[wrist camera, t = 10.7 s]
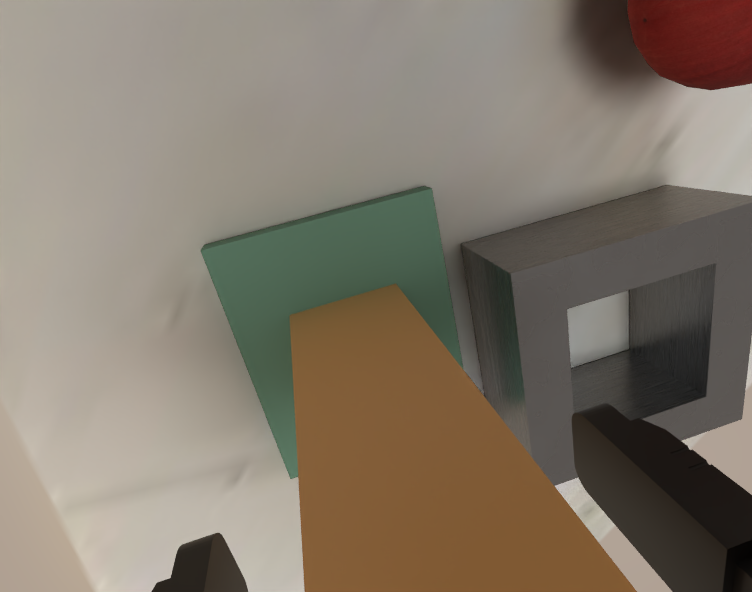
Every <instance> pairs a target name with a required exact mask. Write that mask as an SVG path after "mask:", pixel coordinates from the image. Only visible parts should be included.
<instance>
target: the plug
mask: <svg viewBox="0 0 752 592" xmlns="http://www.w3.org/2000/svg"><path fill="white" fill-rule="evenodd" d="M289 317H290V335H291V353H292V371H293V389H294V407H295V425H296V443H297V461H298V479H299V497H300V515H301V533H302V551H303V569H304V587H305V592H637V591H636V590H635V589H634V587H633V586H632V585H631V584H630V582H629V581H628V580H627V579H626V577H625V576H624V575H623V573H622V572H621V571H620V570H619V568H618V567H617V566H616V565H615V563H614V562H613V561H612V559H611V558H610V557H609V555H608V554H607V553H606V552H605V551H604V549H603V548H602V547H601V545H600V544H599V543H598V541H597V540H596V539H595V538H594V536H593V535H592V534H591V532H590V531H589V530H588V529H587V527H586V526H585V525H584V523H583V522H582V521H581V520H580V518H579V517H578V516H577V515H576V513H575V512H574V511H573V509H572V508H571V507H570V506H569V504H568V503H567V502H566V500H565V499H564V498H563V497H562V495H561V494H560V493H559V492H558V490H557V489H556V488H555V486H554V485H553V484H552V483H551V481H550V480H549V479H548V477H547V476H546V475H545V474H544V472H543V471H542V470H541V469H540V467H539V466H538V465H537V463H536V462H535V461H534V460H533V458H532V457H531V456H530V454H529V453H528V452H527V451H526V449H525V448H524V447H523V445H522V444H521V443H520V442H519V440H518V439H517V438H516V437H515V435H514V434H513V433H512V431H511V430H510V429H509V428H508V426H507V425H506V424H505V422H504V421H503V420H502V419H501V417H500V416H499V415H498V414H497V412H496V411H495V410H494V408H493V407H492V406H491V405H490V403H489V402H488V401H487V399H486V398H485V397H484V396H483V394H482V393H481V392H480V390H479V389H478V388H477V387H476V385H475V384H474V383H473V382H472V380H471V379H470V378H469V376H468V375H467V374H466V373H465V371H464V370H463V369H462V367H461V366H460V365H459V364H458V362H457V361H456V360H455V359H454V357H453V356H452V355H451V353H450V352H449V351H448V350H447V348H446V347H445V346H444V344H443V343H442V342H441V341H440V339H439V338H438V337H437V336H436V334H435V333H434V332H433V330H432V329H431V328H430V327H429V325H428V324H427V323H426V321H425V320H424V319H423V318H422V316H421V315H420V314H419V312H418V311H417V310H416V309H415V307H414V306H413V305H412V304H411V302H410V301H409V300H408V298H407V297H406V296H405V295H404V293H403V292H402V291H401V289H400V288H399V287H398V286H397V284H392V285H389V286H386V287H382V288H379V289H376V290H372V291H369V292H366V293H362V294H359V295H355V296H352V297H349V298H345V299H342V300H339V301H335V302H332V303H328V304H325V305H322V306H318V307H315V308H312V309H308V310H305V311H302V312H298V313H295V314H291V315H289Z"/></svg>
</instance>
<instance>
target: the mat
mask: <svg viewBox="0 0 752 592" xmlns="http://www.w3.org/2000/svg"><path fill="white" fill-rule="evenodd" d="M201 253H202V255H203V258H204V260H205V263H206V265H207V268H208V270H209V273H210V276H211V278H212V281H213V283H214V286H215V288H216V291H217V293H218V296H219V298H220V301H221V303H222V306H223V309H224V311H225V314H226V316H227V319H228V321H229V324H230V326H231V329H232V331H233V334H234V336H235V339H236V342H237V344H238V347H239V349H240V352H241V354H242V357H243V359H244V362H245V364H246V367H247V369H248V372H249V375H250V377H251V380H252V382H253V385H254V387H255V390H256V392H257V395H258V397H259V400H260V402H261V405H262V408H263V410H264V413H265V415H266V418H267V420H268V423H269V425H270V428H271V430H272V433H273V435H274V438H275V440H276V443H277V446H278V448H279V451H280V453H281V456H282V458H283V461H284V463H285V466H286V468H287V471H288V473H289V476H290V479H292V478H295V477H298V461H297V443H296V425H295V407H294V389H293V371H292V353H291V335H290V317H289V315H291V314H295V313H298V312H302V311H305V310H308V309H312V308H315V307H318V306H322V305H325V304H328V303H332V302H335V301H339V300H342V299H345V298H349V297H352V296H355V295H359V294H362V293H366V292H369V291H372V290H376V289H379V288H382V287H386V286H389V285H392V284H397V286H398V287H399V288H400V289H401V291H402V292H403V293H404V295H405V296H406V297H407V298H408V300H409V301H410V302H411V304H412V305H413V306H414V307H415V309H416V310H417V311H418V312H419V314H420V315H421V316H422V318H423V319H424V320H425V321H426V323H427V324H428V325H429V327H430V328H431V329H432V330H433V332H434V333H435V334H436V336H437V337H438V338H439V339H440V341H441V342H442V343H443V344H444V346H445V347H446V348H447V350H448V351H449V352H450V353H451V355H452V356H453V357H454V359H455V360H456V361H457V362H458V364H459V365H460V366H461V367H462V369H463V364H462V358H461V353H460V347H459V341H458V336H457V330H456V324H455V318H454V313H453V307H452V301H451V295H450V290H449V284H448V278H447V273H446V267H445V261H444V255H443V250H442V244H441V238H440V233H439V227H438V221H437V215H436V210H435V204H434V198H433V192H432V188H429V187H426V186H423V187H419V188H415V189H411V190H408V191H404V192H400V193H396V194H393V195H389V196H385V197H382V198H378V199H374V200H370V201H367V202H363V203H359V204H355V205H352V206H348V207H344V208H340V209H337V210H333V211H329V212H325V213H322V214H318V215H314V216H310V217H307V218H303V219H299V220H296V221H292V222H288V223H284V224H281V225H277V226H273V227H269V228H266V229H262V230H258V231H254V232H251V233H247V234H243V235H239V236H236V237H232V238H228V239H225V240H221V241H217V242H213V243H210V244H206V245H204V246H203V248H202V249H201Z"/></svg>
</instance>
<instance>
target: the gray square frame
mask: <svg viewBox="0 0 752 592" xmlns="http://www.w3.org/2000/svg"><path fill="white" fill-rule="evenodd" d="M461 248H462V254H463V261H464V267H465V273H466V280H467V286H468V292H469V299H470V305H471V311H472V318H473V324H474V330H475V337H476V343H477V350H478V356H479V362H480V369H481V375H482V381H483V388H484V394H485V398H486V399H487V401H488V402H489V403H490V405H491V406H492V407H493V408H494V410H495V411H496V412H497V414H498V415H499V416H500V417H501V419H502V420H503V421H504V422H505V424H506V425H507V426H508V428H509V429H510V430H511V431H512V433H513V434H514V435H515V437H516V438H517V439H518V440H519V442H520V443H521V444H522V445H523V447H524V448H525V449H526V451H527V452H528V453H529V454H530V456H531V457H532V458H533V460H534V461H535V462H536V463H537V465H538V466H539V467H540V469H541V470H542V471H543V472H544V474H545V475H546V476H547V477H548V479H549V480H550V481H551V483H552V484H553V485H554V486H555V485H558V484H561V483H564V482H566V481H569V480H572V479H575V478H578V475H577V472H576V469H575V464H574V450H573V436H572V415H573V414H574V413H577V412H580V411H583V410H586V409H589V408H592V407H594V406H597V405H600V404H603V403H607V404H609V405H611V406H613V407H614V408H615V409H617V410H618V411H619V412H620V413H621V414H623V415H624V416H625V417H626V418H628V419H629V420H630V421H631V420H634V419H637V418H640V419H642V420H645V421H647V422H649V423H652V424H654V425H656V426H659V427H661V428H664V429H666V430H667V431H668V432H670V433H671V434H672V435H674V436H675V437H676V438H678V439H679V440H680V441H682V440H684V439H687V438H690V437H693V436H696V435H698V434H701V433H704V432H707V431H710V430H712V429H715V428H718V427H721V426H724V425H726V424H729V423H732V422H735V421H738V420H741V419H742V414H743V405H744V396H745V388H746V379H747V370H748V362H749V353H750V344H751V335H752V196H748V195H741V194H733V193H725V192H718V191H710V190H702V189H694V188H687V187H679V186H671V185H666V186H662V187H659V188H655V189H652V190H648V191H645V192H641V193H638V194H634V195H631V196H627V197H624V198H620V199H617V200H613V201H610V202H606V203H602V204H599V205H595V206H592V207H588V208H585V209H581V210H578V211H574V212H571V213H567V214H564V215H560V216H557V217H553V218H550V219H546V220H543V221H539V222H536V223H532V224H529V225H525V226H522V227H518V228H515V229H511V230H508V231H504V232H501V233H497V234H494V235H490V236H487V237H483V238H480V239H476V240H473V241H469V242H466V243H462V244H461ZM627 290H630V350H627V351H624V352H621V353H618V354H615V355H612V356H609V357H606V358H603V359H600V360H597V361H594V362H591V363H588V364H585V365H582V366H578V367H575V368H572V369H571V365H570V349H569V334H568V319H567V309H569V308H572V307H575V306H578V305H582V304H585V303H588V302H591V301H595V300H598V299H601V298H604V297H607V296H611V295H614V294H617V293H620V292H624V291H627Z"/></svg>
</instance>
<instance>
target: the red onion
mask: <svg viewBox="0 0 752 592" xmlns="http://www.w3.org/2000/svg"><path fill="white" fill-rule="evenodd" d="M627 12H628V17H629V22H630V26H631V31H632V36H633V41H634V43H635V45H636V46H637V48H638V50H639V51H640V53H641V54H642V56H643V57H644V59H645V60H646V62H647V63H648V65H649V66H650V67H651V68H652V69H653V70H655V71H656V72H657V73H658V74H659V75H660V76H662V77H664V78H667V79H669V80H672V81H674V82H677V83H679V84H682V85H684V86H687V87H692V88H700V89H707V90H715V89H721V88H728V87H734V86H740V85H746V84H751V83H752V0H628V10H627Z"/></svg>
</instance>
